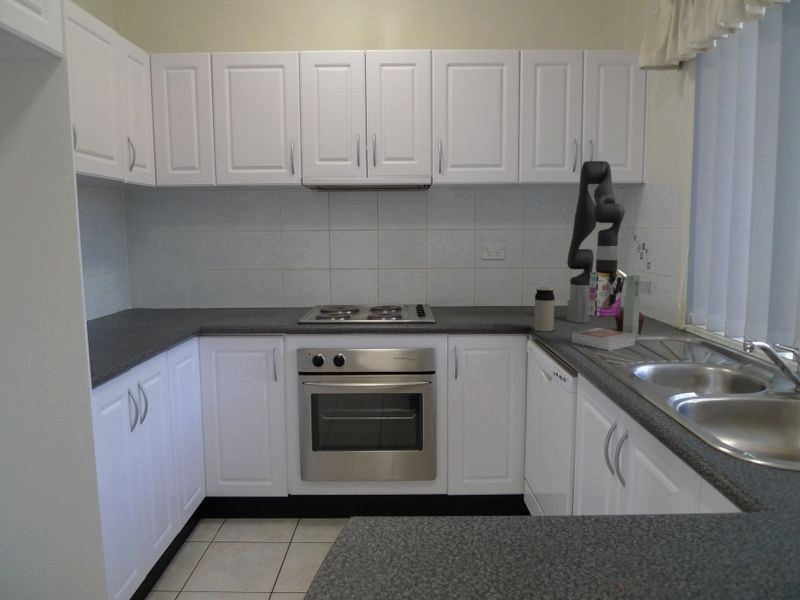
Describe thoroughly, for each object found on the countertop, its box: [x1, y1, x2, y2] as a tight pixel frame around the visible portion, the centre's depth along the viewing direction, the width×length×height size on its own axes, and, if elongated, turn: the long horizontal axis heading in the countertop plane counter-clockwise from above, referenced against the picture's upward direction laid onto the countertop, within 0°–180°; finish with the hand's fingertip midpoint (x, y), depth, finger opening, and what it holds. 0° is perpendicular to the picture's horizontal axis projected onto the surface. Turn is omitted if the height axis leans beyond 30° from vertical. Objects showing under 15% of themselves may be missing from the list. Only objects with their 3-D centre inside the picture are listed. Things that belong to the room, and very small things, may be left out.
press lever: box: [617, 267, 658, 296], centre depth 218 cm, size 25×5×14 cm, turn 35°
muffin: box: [614, 308, 645, 335], centre depth 229 cm, size 12×11×10 cm
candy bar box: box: [588, 271, 622, 318], centre depth 207 cm, size 11×5×16 cm, turn 108°
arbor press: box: [571, 274, 641, 351], centre depth 211 cm, size 16×26×25 cm, turn 125°
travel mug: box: [533, 286, 556, 333], centre depth 236 cm, size 8×8×18 cm
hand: (604, 303), depth 208 cm, fingers closed on candy bar box, 5 cm apart
